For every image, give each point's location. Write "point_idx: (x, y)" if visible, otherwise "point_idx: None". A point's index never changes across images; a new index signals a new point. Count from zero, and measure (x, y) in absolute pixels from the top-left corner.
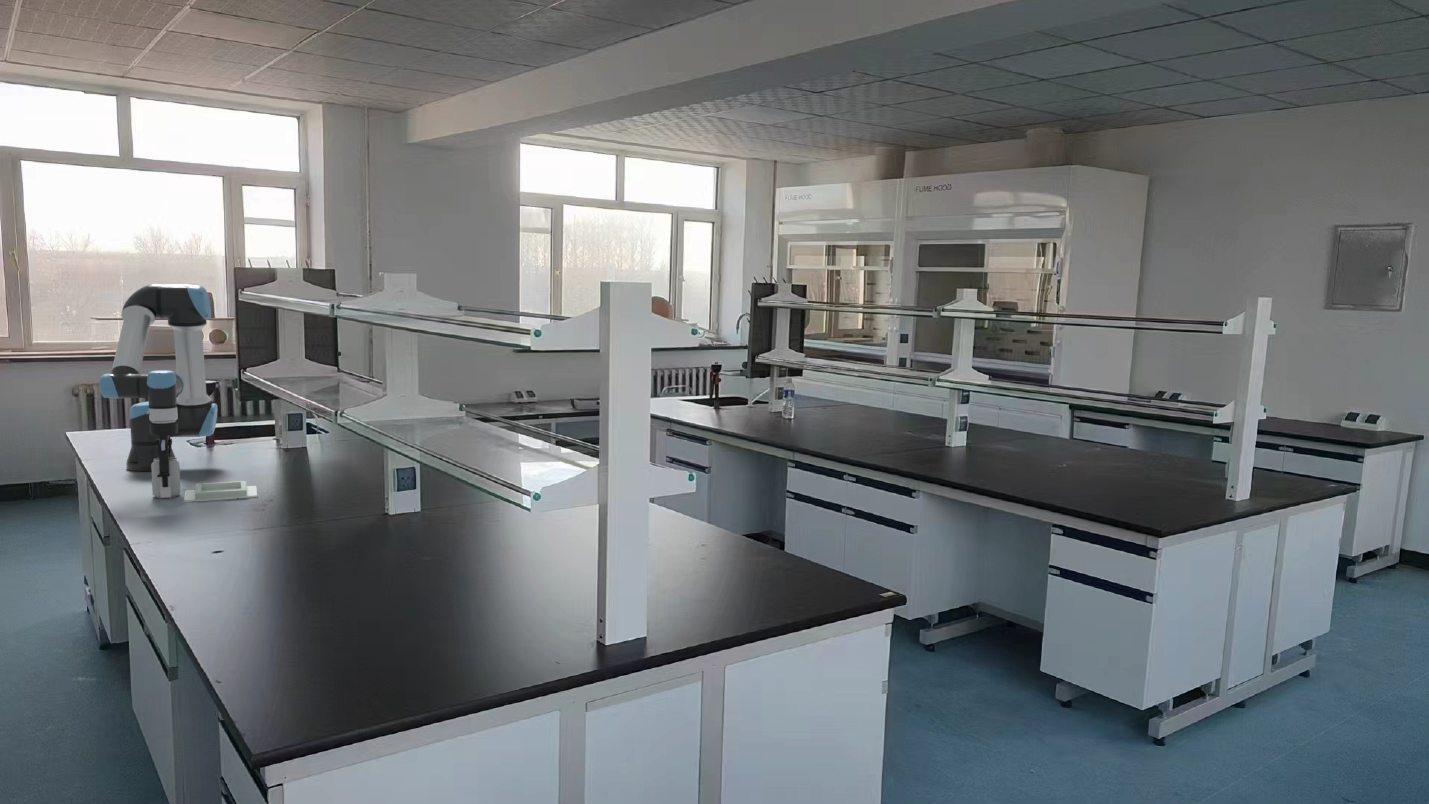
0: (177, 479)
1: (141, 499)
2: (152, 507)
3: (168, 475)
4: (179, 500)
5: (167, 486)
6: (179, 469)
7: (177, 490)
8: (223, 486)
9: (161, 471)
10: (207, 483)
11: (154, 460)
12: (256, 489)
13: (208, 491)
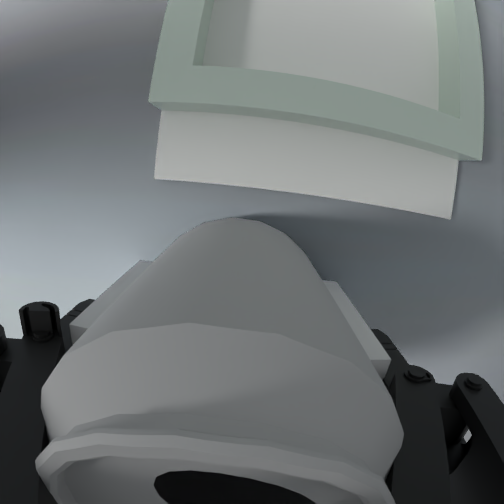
0: (309, 271)
1: None
2: (454, 353)
3: (469, 376)
4: (390, 234)
5: (380, 334)
6: (232, 275)
7: (296, 246)
8: None
9: (470, 446)
10: (178, 29)
11: None
12: None
13: (263, 45)
